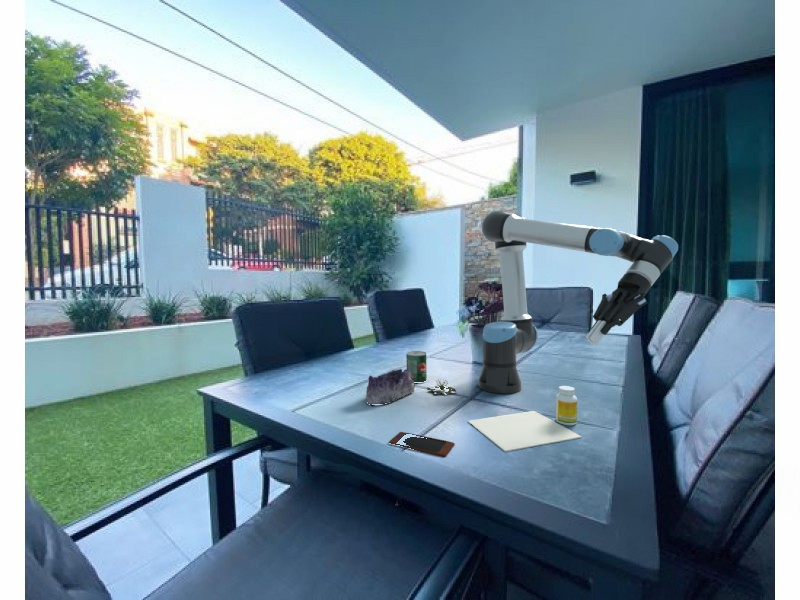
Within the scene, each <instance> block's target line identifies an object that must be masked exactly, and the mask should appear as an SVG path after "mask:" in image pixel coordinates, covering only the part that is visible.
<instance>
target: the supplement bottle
mask: <svg viewBox="0 0 800 600" xmlns="http://www.w3.org/2000/svg"><path fill="white" fill-rule="evenodd" d="M575 393H576V390H575V387H573V386H571V385H570V386H569V385H560V386H558V393H557V394H556V395H555V422H556V423H558V424H560V425H563V426H574V425H576V424H577V423H578V398H577V396H576V395H575Z"/></svg>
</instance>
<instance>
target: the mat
mask: <svg viewBox="0 0 800 600" xmlns="http://www.w3.org/2000/svg"><path fill="white" fill-rule="evenodd" d="M467 422H468V423H469V424H470V425H471V424H472V425H473V426H472V425H471V426H472V427H474V428H475V429H476V430H477V429H478V430H477V431H479V432H480V433H481V435H484V437H486V438H487V439H489V440H490V441H491V442H492V443H494V444H495V445H496V446H497V447H499V448H500V449H501V450H502V451H504V453H507V452H508V453H509V452H512V451H517V450H522V449H528V448H533V447H539V446H544V445H549V444H555V443H559V442H566V441H571V440H576V439H581V438H582V437H583V436H581V435H579V433H576V432H574V431H573V430H572V429H571V430H570V429H569V428H566V426H564V425H562V424H561V423H558V422H557V421H554V420H552V419H550V418H548V417H547V416H544V415H543V414H542V413H539V412H537V411H535V410H529V411H523V412H517V413H509V414H504V415H497V416H490V417H489V416H488V417H483V418H476V419H469V420H467Z"/></svg>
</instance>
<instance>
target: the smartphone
mask: <svg viewBox="0 0 800 600" xmlns="http://www.w3.org/2000/svg"><path fill="white" fill-rule="evenodd" d="M406 434H412V435H416V436H420V437H424V438H417V437H410V438H407V439H405V441H403V442H404V443H406V445H409V446H410V447H409V446H404V445H400V444H396V443H397V442H398V441H399V440H400V439H401V438H402V437H403V436H404V435H406ZM426 438H427V439H426ZM388 443H391V444H395V445H400V446H403V447H407V448H411V449H414V450H417V451H416V452H418V451H420V452H419V453H422V454H423V453H424V454H428V455H431V456H432V455H433V456H437V457H441V458H447V456H448V455H449V453H450V452H451V451H452V449H453V448H454V447H455V446H456V445H455V444H456V443H455V442H454V441H449V440H444V439H440V438H439V439H438V438H436V437H435V438H434V437H430V436H424V435H419V434H416V433H411V432H410V433H409V432H404V431H400V432H398V433H397V434H396V435H394V437H392V438H391V439H390V440H388V442H387V444H388ZM414 450H413V451H414Z"/></svg>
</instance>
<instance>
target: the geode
mask: <svg viewBox="0 0 800 600" xmlns="http://www.w3.org/2000/svg"><path fill="white" fill-rule="evenodd" d="M415 385H416V384H414V381H413V380H412V379H411V372H410V371H409V370H407V368H405V369H404V370H403V369H402V368H399V369H396V370H395V369H391V370H390V371H388V372H387V373H384V374H381V375H378V376H377V377H376V376H375V377H374V376H372V375H369V376H368V385H367V387H366V391H365V392H366V393H365V394H366V395H365V402H366V401H367V402H368V404H370V405H372V404H385V403H389V402H391V403H392V401H393V402H395V401H397V400H396V399H398V400H400V399H399V398H401V397H402V398H403V397H404V396H405V395H407V396H409V395H410V393H411V394H412V393H414V392H415V387H416V386H415ZM408 394H409V395H408ZM405 397H406V396H405ZM405 397H404V398H405ZM402 398H401V399H402ZM394 400H395V401H394ZM368 404H367V405H368ZM389 404H390V403H389Z"/></svg>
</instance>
